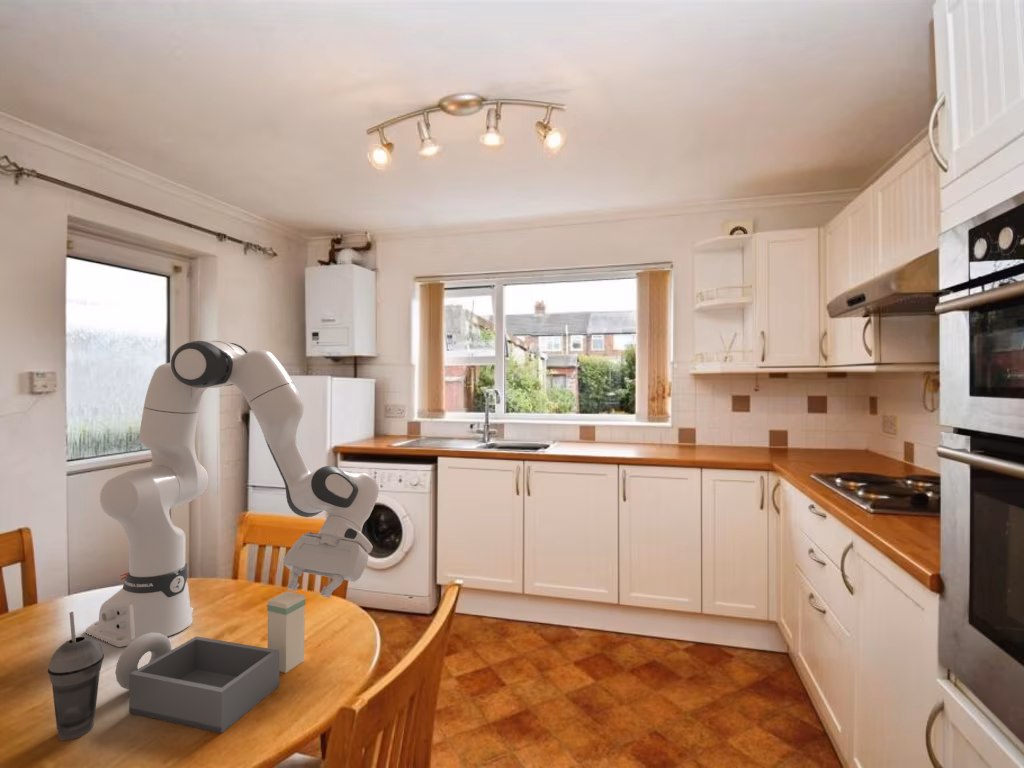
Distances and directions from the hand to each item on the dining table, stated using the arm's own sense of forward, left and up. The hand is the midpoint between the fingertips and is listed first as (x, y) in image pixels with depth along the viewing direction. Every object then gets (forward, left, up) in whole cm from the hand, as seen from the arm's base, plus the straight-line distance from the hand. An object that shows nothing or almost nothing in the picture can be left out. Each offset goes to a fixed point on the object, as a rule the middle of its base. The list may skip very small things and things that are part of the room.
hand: (307, 592), depth 113 cm
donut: (-22, -20, -13) cm, 32 cm away
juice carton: (-1, -6, -13) cm, 14 cm away
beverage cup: (-21, -33, -13) cm, 41 cm away
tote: (-7, -20, -13) cm, 25 cm away
